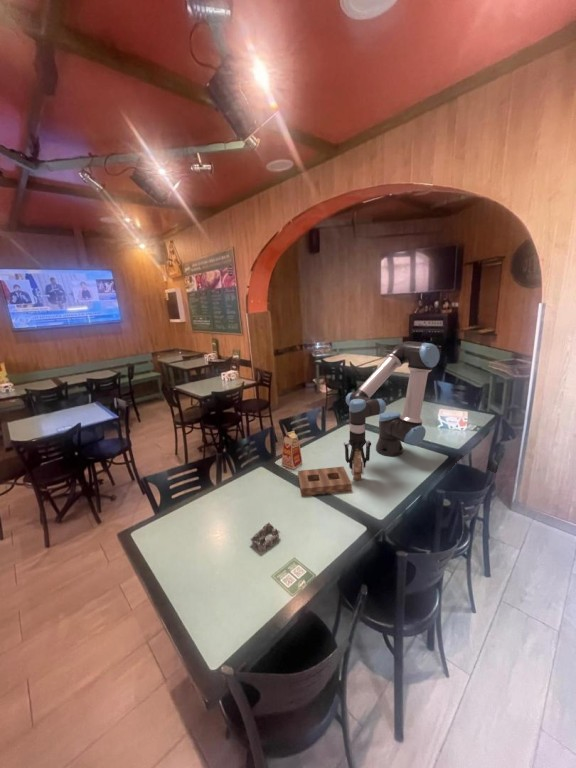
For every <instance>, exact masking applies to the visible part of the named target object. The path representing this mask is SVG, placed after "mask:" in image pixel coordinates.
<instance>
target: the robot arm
mask: <svg viewBox="0 0 576 768" xmlns="http://www.w3.org/2000/svg"><path fill="white" fill-rule="evenodd" d="M439 361H440V351H439V349H438V346H436V345H435V344H434V343H428V342H421V341H412V340H410V341H404V342H402V343H400V344H398V345H397V346H395V347H394V348H392V350H391V351H389V352H388V353H387V355H386V356H385V359H384V360H383V362H382V363H380V365H379V366H378V367H377V368H376V369H375V370H374V371H373V372H372V373H371V374H370V376H369V377H368V378H367V379H365V381H364V383H362V384H361V386H360V387H359V388H358V389H357V390H356V391H355V392H348V394H347V395H346V396H345V403H346V404H347V405H348V407H349V408H348V410H349V411H348V412H349V413H348V414H349V440H348V442H343V446H344V453H345V456H344V457H345V462H346V463H347V464H348V465H349V466H348V467H349V469H350V473H351V475H352V476H353V475H354V463H353V459H354V454H355V451H356V449H360V450H361V470H362V472H361V476H362V475H365V474H364V472H365V471H364V469H365V468H366V464H367V462H369V461H370V455H371V454H370V453H371V447H372V446H371V445H372V442H371V441H370V440H367V439H366V419H367V418H370V417H375V416H378V415H379V417H378V439H377V442H376V443H375V444H376V445H375V451H376V452H377V453H378V454H380V455H383V456H386V457H397V456H401V455H402V454H403V451H404V447H403V444H402V442H403V443H404V444H406V445H409V446H412V447H413V446H417V445H419V444H420V443H421V442H422V441H423V440H424V438H425V436H426V431H427V430H426V429H425V427H424V426H423V419H422V418H421V415H422V409H423V403H424V397H425V392H426V387H427V380H428V375H429V373H430V372H432V371H433V368H434V367H436V366H437V365H438V363H439ZM406 363H407V368H408V370H409V371H410V372H409V377H408V383H407V388H406V395H405V401H404V405H403V412H402V413H403V414H401V413H399V412H396V411H387V412H385V411H386V410H387V404H386V402H385V401H384V400H383V399H382V398H375V399H373V398H371V397H372V396H373V395H374V394H375V393H376V391H378V389H379V388H380V387H381V386H382V385H384V383H385V381H386V380H387V379H389V377H390V376H392V374H393V373H395V371H396V369H397V368H400V367H402V366H403V365H404V364H406ZM350 446H351V450H349V447H350ZM364 446H365V452H364ZM349 451H350V453H349Z"/></svg>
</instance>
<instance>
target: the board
mask: <svg viewBox="0 0 576 768" xmlns="http://www.w3.org/2000/svg"><path fill="white" fill-rule="evenodd" d="M297 477H298V478H299V479H298V483H299V490H300V496H301V497H306V496H307V497H308V496H315V495H316V494H318V495H325V493H328V494H336V493H337V494H338V493H347V492H348V493H349V492H352V490H353V489H352V488H353V487H352V482H351V479H350V477H349V475H348V473H347V470H346V468H345V466H333V467H325V468H314V469H313V468H312V469H305V470H304V469H303V470H297ZM316 496H317V495H316Z"/></svg>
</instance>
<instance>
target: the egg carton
mask: <svg viewBox="0 0 576 768" xmlns="http://www.w3.org/2000/svg"><path fill="white" fill-rule="evenodd" d="M269 532H271V533H272V535H273V536H271V535H268V536H267V533H269ZM280 534H281V531H280V530H278V529H277V528H275V527H274V526H273V525H272V524H271V523H270V522H268V523H266V524H264V526H263V527H262V528H261V529H259V531H257V532H256V533H255V534H254V535H253V536H252V537H251V538H250V542H251V544H252V547H253V548H255V547H257V550H258V551H259V552H261V551H263V552H266V550H267V546H270V547H271V546H273V544H274V543H273V542H274V541H279V540H280ZM266 536H267V537H266Z"/></svg>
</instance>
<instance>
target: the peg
mask: <svg viewBox="0 0 576 768" xmlns="http://www.w3.org/2000/svg"><path fill="white" fill-rule="evenodd" d="M361 460H362V457H361V450H360V449H356V451H355V454H354V459H353V463H354V475H352V476H353V477H352V479H353V480H354V481H357V482H359V481H362V473H361V472H362V470H361Z"/></svg>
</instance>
